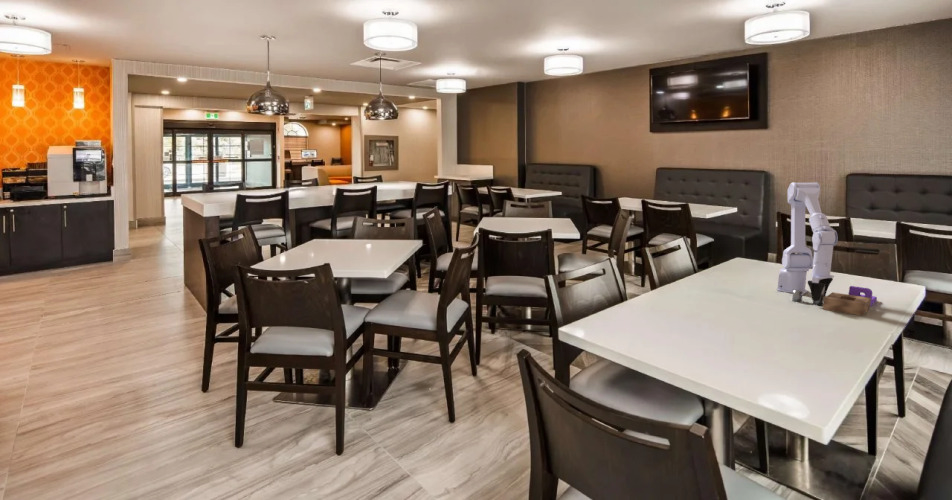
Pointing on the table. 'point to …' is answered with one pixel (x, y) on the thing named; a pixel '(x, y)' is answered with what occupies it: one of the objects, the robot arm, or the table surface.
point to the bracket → (866, 291)
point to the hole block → (847, 303)
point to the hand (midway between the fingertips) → (818, 298)
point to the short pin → (797, 295)
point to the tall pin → (820, 299)
